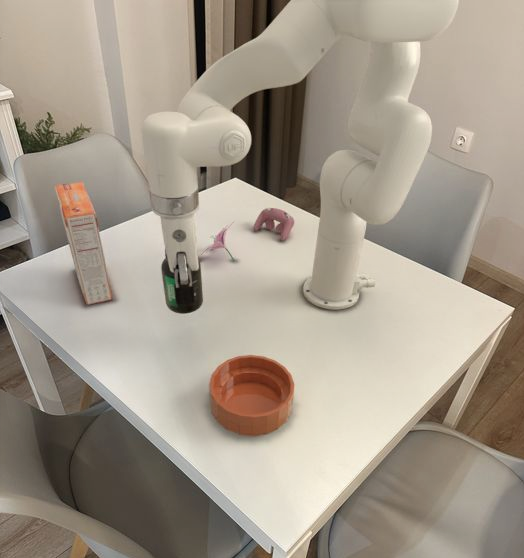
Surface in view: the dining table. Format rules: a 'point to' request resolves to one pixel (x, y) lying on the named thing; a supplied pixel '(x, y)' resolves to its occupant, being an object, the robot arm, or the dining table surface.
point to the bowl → (251, 395)
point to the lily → (219, 241)
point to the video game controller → (279, 215)
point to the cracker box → (84, 242)
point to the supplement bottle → (170, 290)
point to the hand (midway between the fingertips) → (183, 289)
